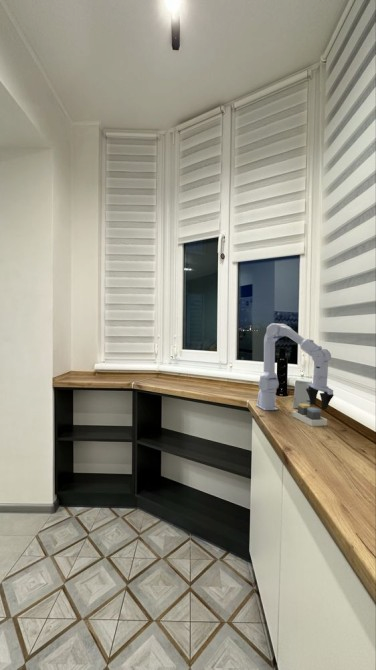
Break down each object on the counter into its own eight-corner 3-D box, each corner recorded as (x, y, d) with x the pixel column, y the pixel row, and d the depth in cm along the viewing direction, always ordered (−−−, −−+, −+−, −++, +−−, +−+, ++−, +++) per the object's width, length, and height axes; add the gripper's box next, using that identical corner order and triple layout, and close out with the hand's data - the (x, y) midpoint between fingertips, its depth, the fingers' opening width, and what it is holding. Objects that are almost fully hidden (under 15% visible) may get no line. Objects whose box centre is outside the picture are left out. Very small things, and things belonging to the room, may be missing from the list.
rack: (292, 416, 142) (292, 411, 142) (306, 415, 144) (306, 410, 144) (311, 426, 129) (311, 420, 129) (327, 425, 131) (327, 419, 131)
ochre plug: (297, 415, 141) (298, 403, 141) (304, 414, 142) (305, 403, 142) (302, 417, 137) (303, 406, 137) (310, 417, 138) (311, 405, 138)
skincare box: (292, 408, 157) (294, 379, 156) (293, 405, 162) (295, 378, 161) (310, 410, 153) (311, 381, 152) (310, 407, 159) (312, 379, 158)
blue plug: (306, 419, 135) (307, 407, 135) (314, 419, 136) (314, 407, 136) (312, 422, 131) (313, 410, 131) (320, 422, 132) (321, 409, 132)
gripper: (339, 379, 127) (337, 411, 128) (317, 373, 141) (315, 401, 142) (325, 379, 125) (323, 411, 126) (304, 373, 139) (302, 402, 140)
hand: (318, 406), depth 134 cm, fingers open, 7 cm apart
